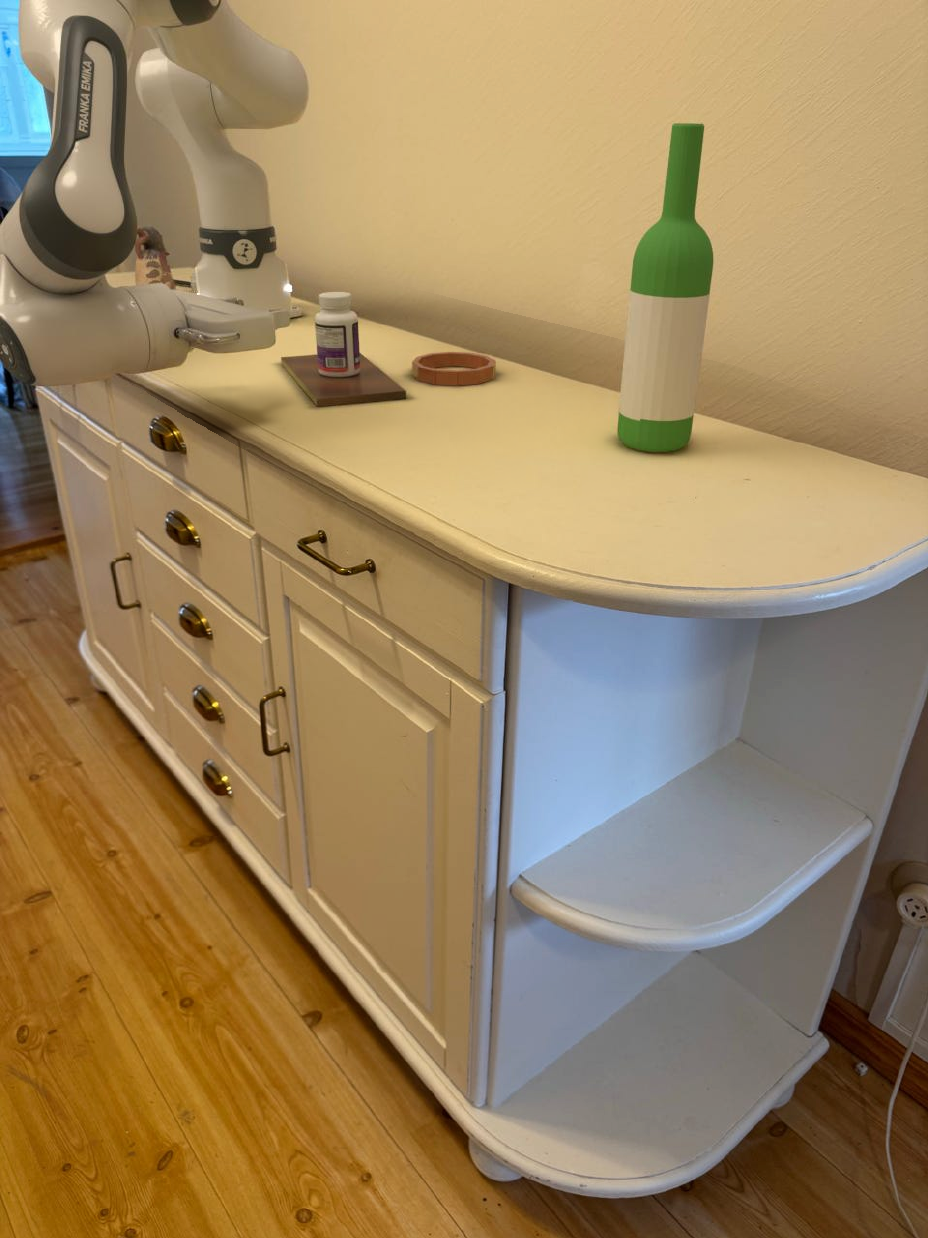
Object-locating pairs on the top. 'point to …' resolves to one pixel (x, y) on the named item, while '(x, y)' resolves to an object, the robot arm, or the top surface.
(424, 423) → the top surface
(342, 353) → the pill bottle
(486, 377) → the ring
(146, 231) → the figurine
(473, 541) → the top surface
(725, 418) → the top surface
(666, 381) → the wine bottle
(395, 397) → the board
